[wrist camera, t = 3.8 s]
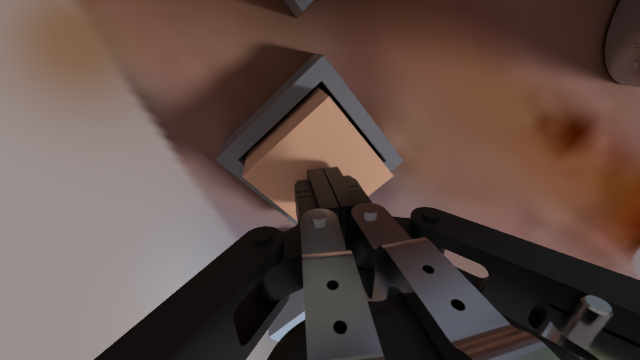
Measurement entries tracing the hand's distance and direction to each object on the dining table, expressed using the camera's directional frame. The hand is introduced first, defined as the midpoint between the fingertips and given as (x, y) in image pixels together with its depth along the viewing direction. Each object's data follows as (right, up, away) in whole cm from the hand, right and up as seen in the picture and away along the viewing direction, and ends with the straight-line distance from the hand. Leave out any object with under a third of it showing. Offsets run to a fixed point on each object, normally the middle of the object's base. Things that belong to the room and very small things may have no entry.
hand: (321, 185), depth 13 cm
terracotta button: (0, +2, +3) cm, 3 cm away
